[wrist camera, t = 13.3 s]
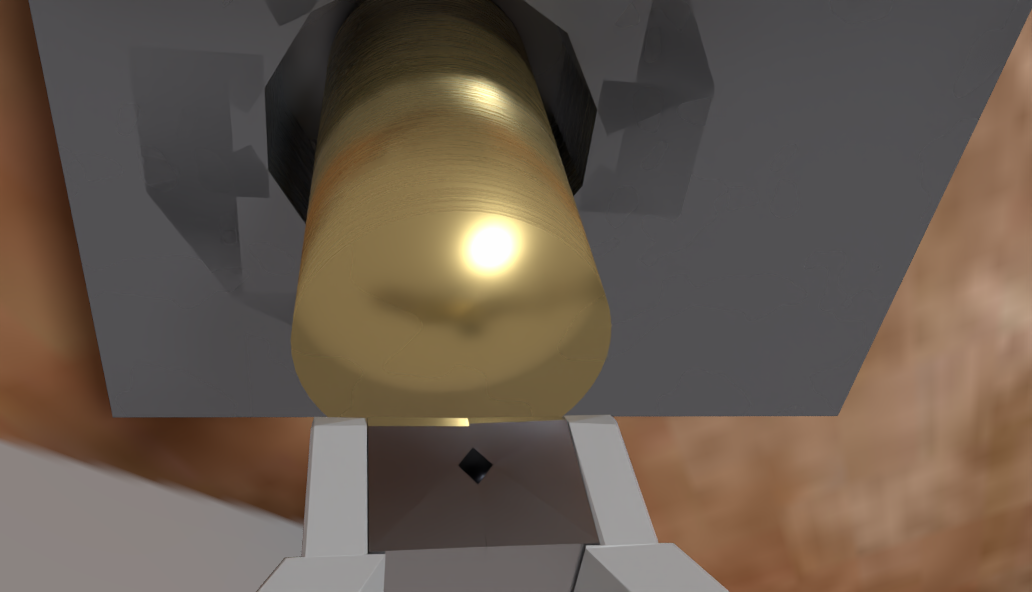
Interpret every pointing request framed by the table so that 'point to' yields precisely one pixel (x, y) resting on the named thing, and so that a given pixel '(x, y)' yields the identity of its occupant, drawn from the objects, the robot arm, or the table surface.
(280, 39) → the jig
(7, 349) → the table surface
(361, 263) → the peg
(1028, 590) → the table surface
